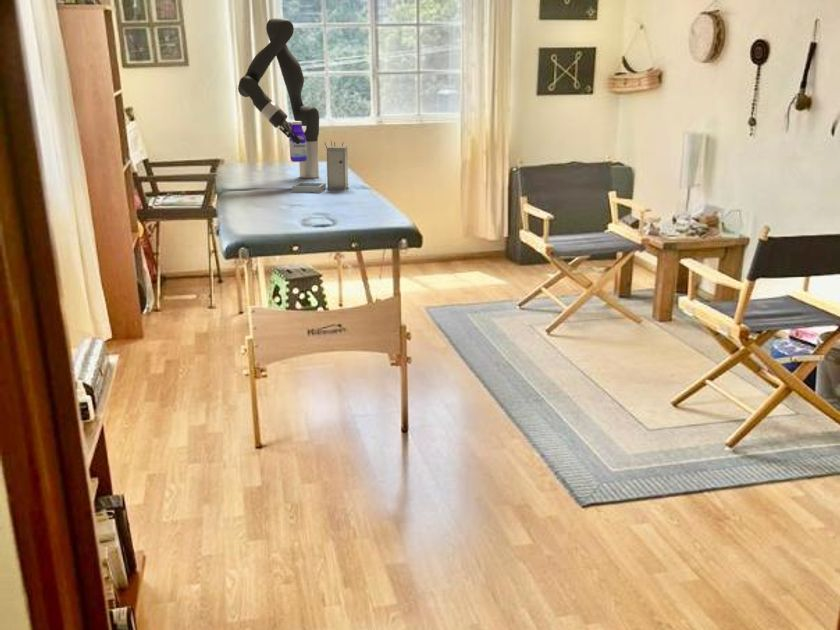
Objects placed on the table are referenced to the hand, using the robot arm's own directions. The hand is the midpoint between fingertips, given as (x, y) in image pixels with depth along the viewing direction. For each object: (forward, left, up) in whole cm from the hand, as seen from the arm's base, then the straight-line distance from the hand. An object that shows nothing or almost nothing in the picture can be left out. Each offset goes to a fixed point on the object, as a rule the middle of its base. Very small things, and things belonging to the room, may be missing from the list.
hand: (301, 142), depth 356 cm
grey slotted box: (+3, +16, -20) cm, 26 cm away
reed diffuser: (-5, +14, -20) cm, 25 cm away
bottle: (0, -2, -9) cm, 9 cm away
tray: (+11, +5, -20) cm, 23 cm away
